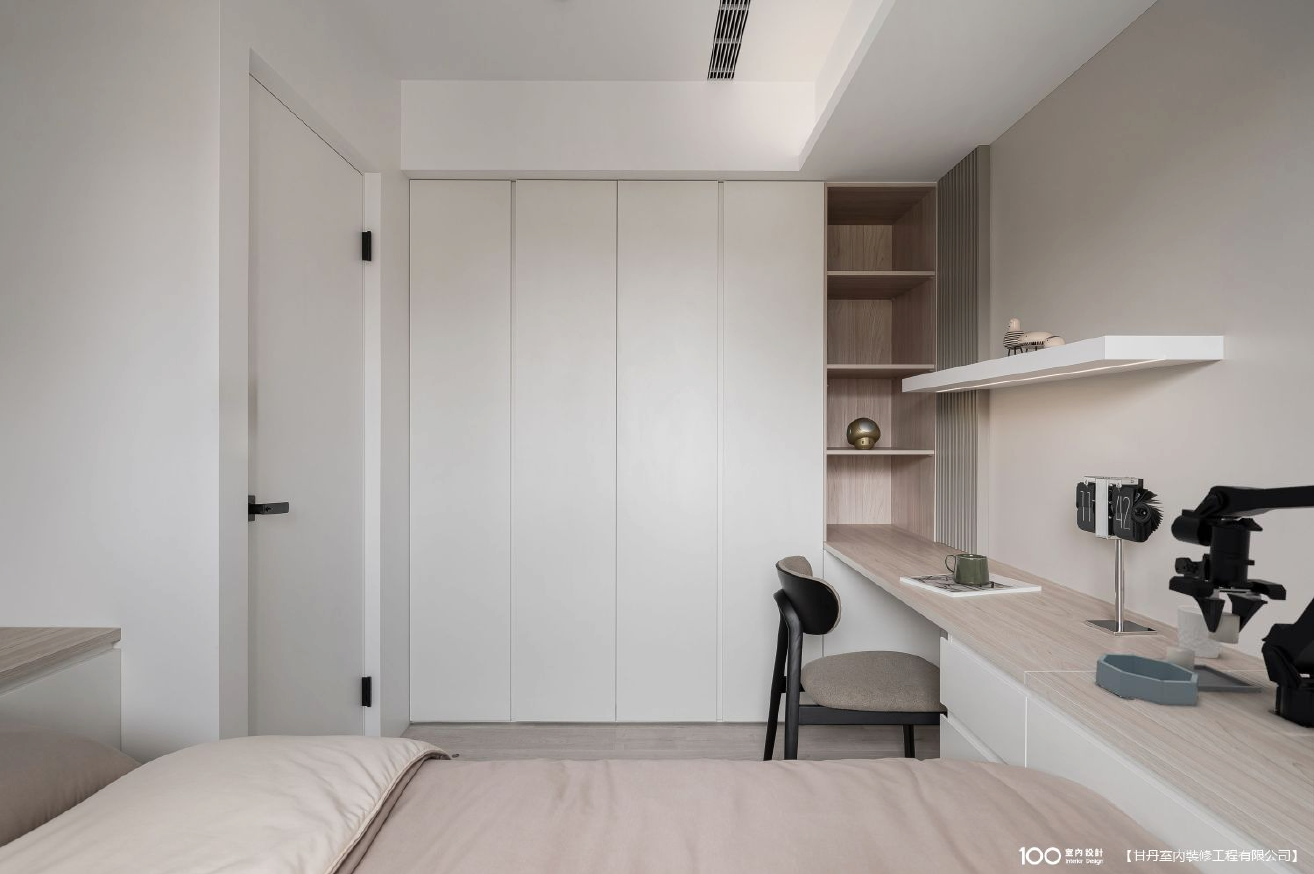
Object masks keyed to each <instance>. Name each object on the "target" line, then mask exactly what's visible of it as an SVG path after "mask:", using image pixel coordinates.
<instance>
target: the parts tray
mask: <svg viewBox="0 0 1314 874" xmlns="http://www.w3.org/2000/svg"><path fill="white" fill-rule="evenodd" d="M1194 673H1196V674H1199V680H1198V692H1216V693H1218V692H1220V693H1224V692H1225V693H1253V694H1254V693H1255V694H1256V693H1259V694H1261V693H1262V687H1260V686H1258V685H1256V684H1253V683H1251V682H1248V681H1246V680H1243V679H1241V678H1238V677H1236V676H1234V675H1231V674H1229V673H1227V672H1224V671H1221V670H1219V669H1217V668H1214V667H1212V666H1210V665H1207V664H1199V663H1198V664H1197V663H1194Z"/></svg>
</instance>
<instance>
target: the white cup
mask: <svg viewBox="0 0 1314 874" xmlns="http://www.w3.org/2000/svg"><path fill="white" fill-rule="evenodd" d="M1177 628H1178V629H1177V635H1178V636H1177V639H1178V646H1180V647H1185V648H1189V649H1192V650H1194V651H1195V657H1200V658H1206V659H1217V658H1219V653H1220V647H1221V643H1222V642H1218V641H1215V640H1212V639H1209V638H1208V628H1207V625H1206V622H1205V620H1204V617H1203V614H1202V611H1201V609H1200V607H1199V606H1194V605H1179V606H1177Z"/></svg>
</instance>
